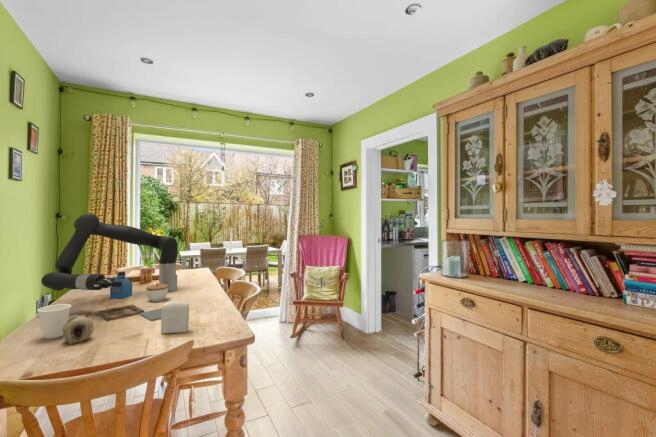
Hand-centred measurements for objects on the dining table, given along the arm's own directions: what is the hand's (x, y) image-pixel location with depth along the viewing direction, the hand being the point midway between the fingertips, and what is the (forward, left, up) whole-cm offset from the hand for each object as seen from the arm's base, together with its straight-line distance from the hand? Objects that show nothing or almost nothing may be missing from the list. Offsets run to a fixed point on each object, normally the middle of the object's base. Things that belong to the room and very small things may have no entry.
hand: (126, 282), depth 148 cm
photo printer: (-4, +40, -15) cm, 43 cm away
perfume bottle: (+1, -2, -7) cm, 8 cm away
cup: (+28, +10, -15) cm, 33 cm away
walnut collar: (+2, -2, -15) cm, 15 cm away
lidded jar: (-19, -13, -15) cm, 28 cm away
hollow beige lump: (+23, +22, -15) cm, 35 cm away
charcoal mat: (-10, +13, -15) cm, 22 cm away
